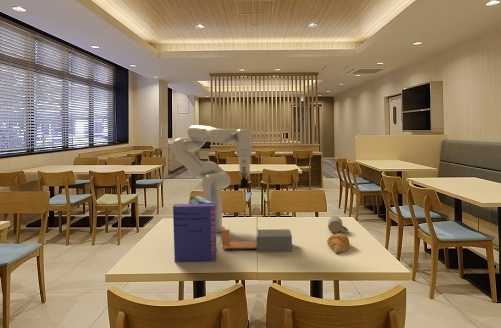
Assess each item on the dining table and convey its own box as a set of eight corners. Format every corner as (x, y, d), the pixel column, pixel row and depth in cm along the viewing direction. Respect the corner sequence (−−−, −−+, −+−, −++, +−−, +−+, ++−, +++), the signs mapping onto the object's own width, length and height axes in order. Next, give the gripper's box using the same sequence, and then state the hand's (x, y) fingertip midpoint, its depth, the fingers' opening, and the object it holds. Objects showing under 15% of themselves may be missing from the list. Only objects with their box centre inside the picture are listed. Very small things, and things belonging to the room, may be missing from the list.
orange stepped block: (221, 248, 169) (220, 232, 168) (222, 242, 178) (222, 227, 177) (256, 248, 169) (256, 232, 168) (256, 242, 177) (256, 227, 177)
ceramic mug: (327, 233, 195) (328, 219, 195) (328, 229, 203) (328, 215, 203) (348, 234, 193) (348, 220, 192) (347, 230, 201) (348, 216, 200)
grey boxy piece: (256, 251, 167) (256, 235, 166) (256, 243, 179) (256, 227, 179) (291, 251, 167) (291, 234, 166) (289, 243, 179) (289, 227, 178)
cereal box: (216, 257, 160) (215, 203, 158) (216, 261, 156) (214, 205, 153) (176, 258, 160) (175, 203, 158) (174, 262, 155) (172, 206, 153)
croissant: (343, 263, 162) (352, 248, 160) (323, 251, 163) (331, 236, 162) (345, 247, 182) (353, 233, 180) (326, 236, 184) (334, 223, 182)
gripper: (251, 154, 180) (251, 188, 181) (251, 152, 197) (251, 183, 198) (235, 154, 180) (236, 189, 181) (237, 152, 197) (238, 184, 199)
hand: (244, 186), depth 190 cm, fingers open, 9 cm apart
